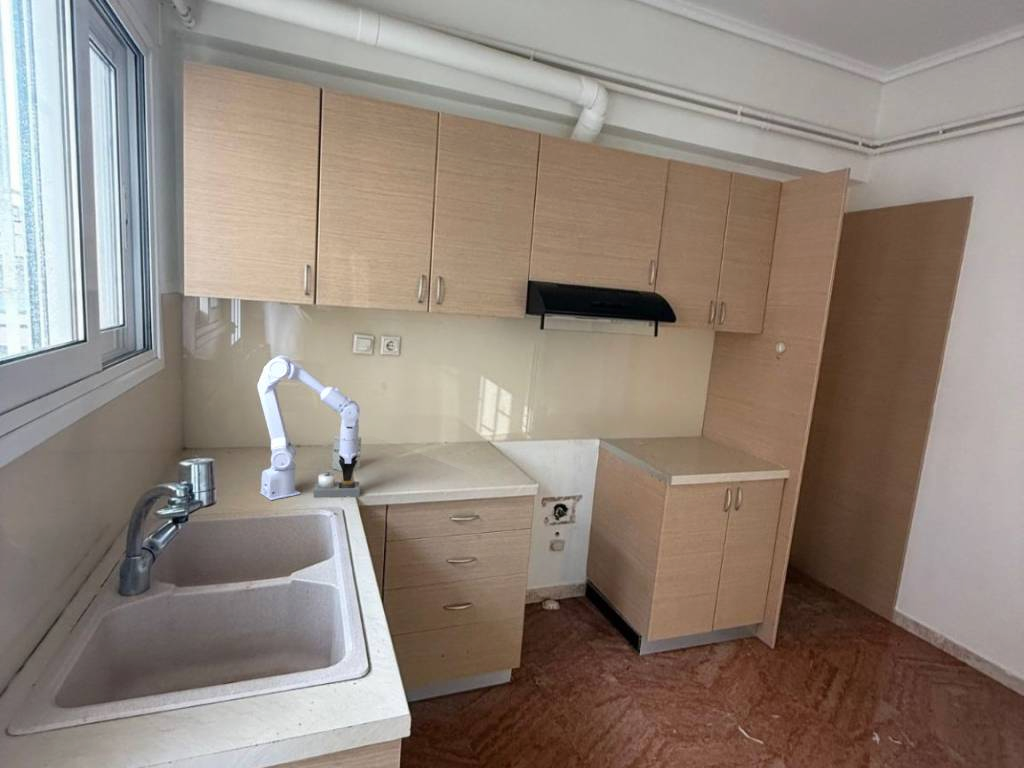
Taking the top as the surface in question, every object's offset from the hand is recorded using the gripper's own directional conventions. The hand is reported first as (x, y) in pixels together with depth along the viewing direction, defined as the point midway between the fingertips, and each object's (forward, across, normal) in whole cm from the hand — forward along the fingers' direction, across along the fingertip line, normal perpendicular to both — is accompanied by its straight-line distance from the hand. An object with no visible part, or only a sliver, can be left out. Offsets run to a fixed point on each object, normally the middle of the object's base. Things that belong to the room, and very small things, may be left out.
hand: (347, 478), depth 171 cm
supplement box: (+5, +26, 0) cm, 27 cm away
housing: (+5, 0, +3) cm, 6 cm away
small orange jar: (+2, 0, 0) cm, 2 cm away
